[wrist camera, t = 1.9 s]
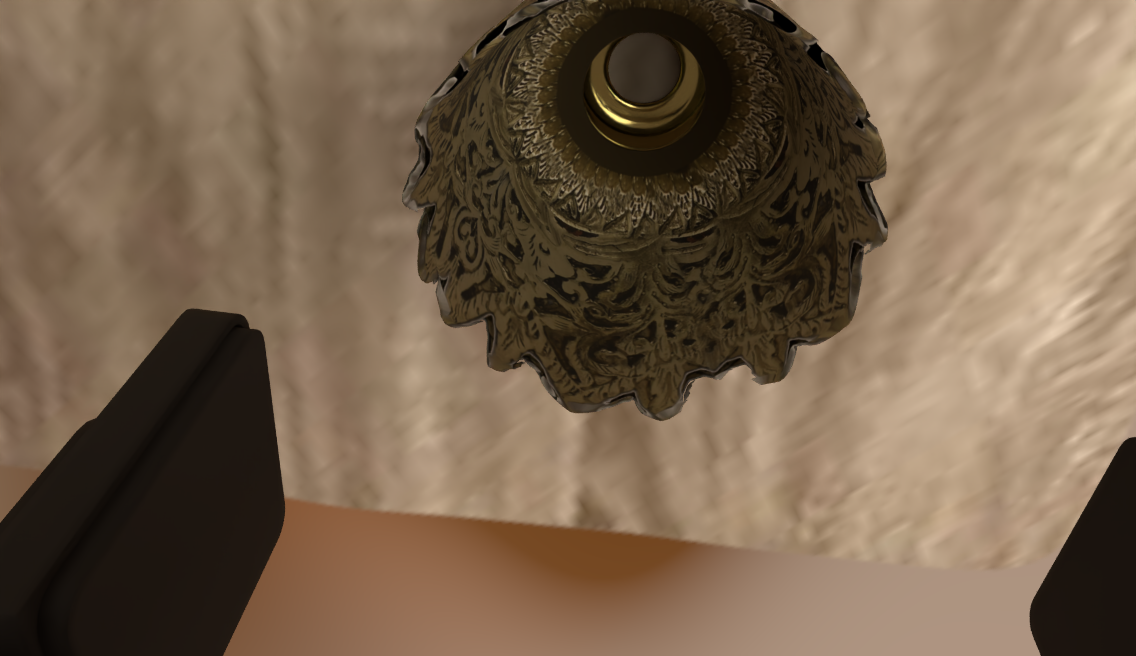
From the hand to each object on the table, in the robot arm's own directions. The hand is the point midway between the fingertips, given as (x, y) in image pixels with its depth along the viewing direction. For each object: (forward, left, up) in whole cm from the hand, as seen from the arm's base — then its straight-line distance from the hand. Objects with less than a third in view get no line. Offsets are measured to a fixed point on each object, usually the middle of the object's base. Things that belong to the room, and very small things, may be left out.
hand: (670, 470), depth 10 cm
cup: (-1, 0, -13) cm, 13 cm away
